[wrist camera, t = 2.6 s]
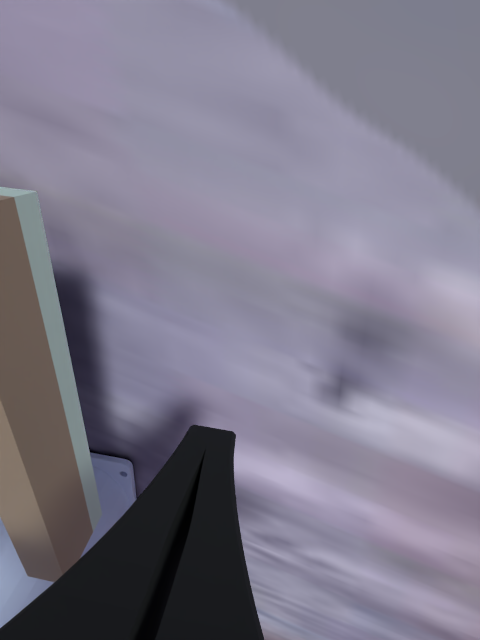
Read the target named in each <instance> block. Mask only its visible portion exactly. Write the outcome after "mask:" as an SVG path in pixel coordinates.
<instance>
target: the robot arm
mask: <svg viewBox="0 0 480 640" xmlns="http://www.w3.org/2000/svg"><path fill="white" fill-rule="evenodd" d="M235 438H236V435H235V434H234V432H232V431H227V430H221V429H215V428H210V427H204V426H198V425H192V426H191V427H190V428H189V430H188V431H187V433H186V435H185V436H184V438H183V439H182V441H181V443H180V444H179V446H178V447H177V448H176V450H175V451H174V453H173V454H172V455H171V457H170V458H169V460H168V461H167V462H166V464H165V465H164V466H163V468H162V469H161V470H160V471H159V473H158V474H157V475H156V477H155V478H154V479H153V480H152V482H151V483H150V484H149V485H148V487H147V488H146V489H145V490H144V491H143V493H142V494H141V495H140V496H139V497H138V498H136V489H135V480H134V472H133V465H132V463H131V462H130V461H129V460H127V459H122V458H117V457H112V456H106V455H101V454H96V453H90V456H91V461H92V466H93V471H94V476H95V481H96V486H97V491H98V496H99V501H100V506H101V511H102V516H101V518H100V520H99V522H98V524H97V526H96V528H95V529H94V531H93V533H92V535H91V537H90V539H89V541H88V543H87V545H86V547H85V549H84V551H83V553H82V555H81V557H80V559H79V560H78V561H77V562H76V563H75V564H74V565H73V566H72V567H71V568H70V569H69V570H67V571H66V572H65V573H64V574H63V575H62V576H61V577H60V578H59V579H58V580H56V581H55V582H51V581H47V580H42V579H38V578H33V577H29V576H27V574H26V572H25V569H24V567H23V565H22V563H21V561H20V559H19V556H18V554H17V552H16V550H15V548H14V546H13V543H12V541H11V539H10V537H9V535H8V533H7V530H6V528H5V526H4V524H3V522H2V520H1V517H0V640H264V637H263V633H262V629H261V626H260V622H259V618H258V614H257V611H256V607H255V602H254V598H253V594H252V589H251V585H250V581H249V576H248V571H247V566H246V561H245V556H244V551H243V545H242V540H241V533H240V527H239V521H238V513H237V505H236V495H235V485H234V447H235Z"/></svg>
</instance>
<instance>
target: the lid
mask: <svg viewBox="0 0 480 640" xmlns="http://www.w3.org/2000/svg"><path fill="white" fill-rule="evenodd" d="M101 516H102V511H101V506H100V501H99V496H98V491H97V486H96V481H95V476H94V471H93V466H92V461H91V456H90V452H89V447H88V442H87V437H86V432H85V427H84V422H83V417H82V412H81V407H80V402H79V397H78V392H77V387H76V382H75V377H74V373H73V368H72V363H71V358H70V353H69V348H68V343H67V338H66V333H65V328H64V323H63V318H62V313H61V308H60V303H59V298H58V294H57V289H56V284H55V279H54V274H53V269H52V264H51V259H50V254H49V249H48V244H47V239H46V234H45V229H44V224H43V219H42V215H41V210H40V205H39V200H38V195H37V191H30V190H22V189H14V188H5V187H0V517H1V520H2V522H3V524H4V526H5V528H6V530H7V533H8V535H9V537H10V539H11V541H12V543H13V546H14V548H15V550H16V552H17V554H18V556H19V559H20V561H21V563H22V565H23V567H24V569H25V572H26V574H27V576H29V577H33V578H38V579H42V580H47V581H51V582H55V581H56V580H58V579H59V578H60V577H61V576H62V575H63V574H64V573H65V572H66V571H67V570H69V569H70V568H71V567H72V566H73V565H74V564H75V563H76V562H77V561H78V560H79V559H80V557H81V555H82V553H83V551H84V549H85V547H86V545H87V543H88V541H89V539H90V537H91V535H92V533H93V531H94V529H95V528H96V526H97V524H98V522H99V520H100V518H101Z"/></svg>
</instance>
